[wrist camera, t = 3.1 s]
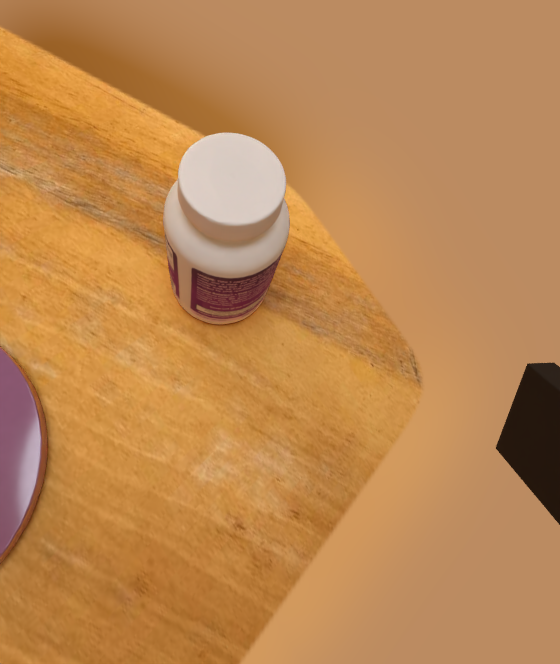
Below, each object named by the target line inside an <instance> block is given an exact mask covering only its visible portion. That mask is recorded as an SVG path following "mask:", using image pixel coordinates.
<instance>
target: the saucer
mask: <svg viewBox="0 0 560 664" xmlns="http://www.w3.org/2000/svg"><path fill="white" fill-rule="evenodd" d="M47 443H48V441H47V431H46V422H45V418H44V414H43V410H42V406H41V403H40V400H39V398H38V396H37V393H36V391H35V388H34V386H33V385H32V383H31V381H30V380H29V378H28V376H27V375H26V373H25V372H24V370H23V369H22V368H21V367H20V365H19V364H18V363H17V362H16V361H15V360H14V358H13V357H12V356H11V355H9V354H8V353H7V352H6V351H5V350H4V349H3V348H2V347H0V564H1V563H2V561H3V560H4V559H5V557H6V556H7V555H8V553H9V552H10V551H11V549H12V548H13V547H14V545H15V544H16V542H17V541H18V539H19V537H20V536H21V534H22V532H23V530H24V529H25V527H26V525H27V524H28V522H29V519H30V517H31V515H32V513H33V510H34V508H35V506H36V504H37V501H38V498H39V494H40V491H41V488H42V484H43V481H44V475H45V469H46V463H47Z"/></svg>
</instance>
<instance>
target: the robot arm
mask: <svg viewBox="0 0 560 664" xmlns="http://www.w3.org/2000/svg"><path fill="white" fill-rule="evenodd" d="M496 449H497V450H498V451H499V453H500V454H501V455H502V456H503V457H504V459H505V460H506V461H507V462H508V463H509V465H510V466H511V467H512V468H513V469H514V471H515V472H516V473H517V474H518V475H519V477H521V479H522V480H523V481H524V483H525V484H526V485H527V486H528V487H529V489H530V490H531V491H532V492H533V493H534V495H535V496H536V497H537V498H538V499H539V500H540V501H541V503H542V504H543V505H544V507H545V508H546V509H547V510H548V511H549V512H550V514H551V515H552V516H553V517H554V519H555V520H556V521H557V522H558V523H559V524H560V367H559V366H558V365H556V364H555V363H534V364H533V363H532V364H527V366H526V369H525V372H524V374H523V377H522V380H521V382H520V385H519V388H518V390H517V393H516V395H515V398H514V401H513V404H512V406H511V409H510V412H509V414H508V417H507V419H506V422H505V425H504V427H503V430H502V433H501V435H500V438H499V441H498V443H497V447H496Z"/></svg>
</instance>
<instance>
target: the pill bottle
mask: <svg viewBox="0 0 560 664" xmlns="http://www.w3.org/2000/svg"><path fill="white" fill-rule="evenodd" d="M285 191H286V177H285V174H284V170H283V167H282V165H281V163H280V161H279V160H278V158H277V157H276V155H275V154H274V153H273V152H272V151H271V150H270V149H269V148H268V147H267V146H265V145H264V144H263V143H261V142H259V141H258V140H256V139H254V138H251V137H249V136H245V135H241V134H237V133H217V134H213V135H210V136H207V137H204V138H202V139H200V140H199V141H197V142H196V143H194V144H193V145H192V146H191V147H190V148H189V149H188V150H187V151H186V153H185V154H184V156H183V157H182V160H181V162H180V166H179V170H178V180H177V181H176V182H175V183H174V185H173V186H172V188H171V189H170V191H169V193H168V196H167V198H166V201H165V206H164V217H163V224H164V231H165V239H166V249H167V257H168V266H169V273H170V279H171V285H172V289H173V292H174V295H175V297H176V299H177V300H178V302H179V304H180V305H181V306H182V307H183V308H184V309H185V310H186V311H187V312H188V313H189V314H191V315H192V316H193V317H195V318H197V319H199V320H202V321H204V322H207V323H211V324H229V323H234V322H238V321H240V320H243V319H245V318H246V317H248V316H249V315H251V314H252V313H253V312H254V311H255V310H256V309H257V308H258V307H259V306H260V304H261V303H262V301H263V299H264V297H265V295H266V293H267V291H268V288H269V286H270V283H271V280H272V278H273V275H274V273H275V270H276V267H277V265H278V262H279V260H280V257H281V255H282V252H283V250H284V248H285V245H286V242H287V239H288V234H289V226H290V220H289V212H288V207H287V204H286V201H285V199H284V196H285Z"/></svg>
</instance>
